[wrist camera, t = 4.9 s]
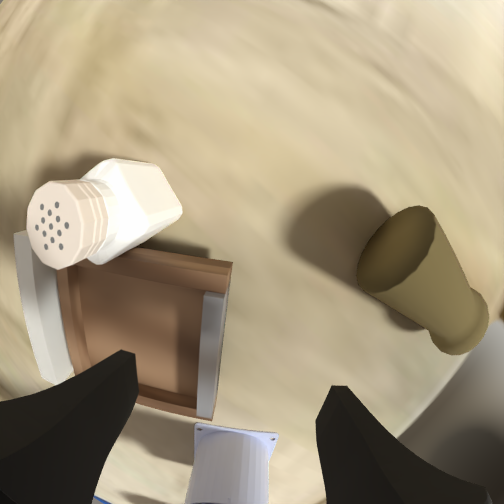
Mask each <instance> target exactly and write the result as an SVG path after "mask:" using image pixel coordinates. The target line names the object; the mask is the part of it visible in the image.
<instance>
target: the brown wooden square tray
mask: <svg viewBox="0 0 504 504" xmlns="http://www.w3.org/2000/svg"><path fill="white" fill-rule="evenodd" d="M232 264H233V262H228V261H221V260H215V259H208V258H202V257H196V256H189V255H183V254H177V253H170V252H164V251H158V250H152V249H146V248H139V247H134V248H132V249H130V250H128V251H126V252H124V253H123V254H121V255H119V256H117V257H115V258H114V259H112V260H110V261H108V262H107V263H105V264H100V265H96V264H94V263H93V262H91V261H90V260H88V259H87V258H85V259H83V260H81V261H79V262H77V263H75V264H73V265H71V266H68V267H65V268H62V269H60V270H57V269H56V271H57V282H58V291H59V299H60V306H61V312H62V319H63V324H64V330H65V335H66V340H67V344H68V349H69V353H70V357H71V361H72V365H73V369H74V373H75V376H76V375H78V374H80V373H82V372H83V371H85V370H87V369H89V368H90V367H92V366H94V365H95V364H97V363H99V362H100V361H102V360H104V359H105V358H107V357H109V356H110V355H112V354H114V353H115V352H117V351H119V350H121V349H122V350H125V351H128V352H132V353H135V355H136V367H137V377H138V386H139V394H138V397H137V399H136V402H135V403H138V404H141V405H144V406H148V407H151V408H155V409H159V410H162V411H166V412H170V413H175V414H179V415H183V416H188V417H193V418H198V419H203V420H208V421H212V419H213V414H214V409H215V404H216V399H217V390H218V381H219V372H220V363H221V354H222V345H223V337H224V328H225V320H226V312H227V303H228V295H229V287H230V279H231V272H232Z"/></svg>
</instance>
